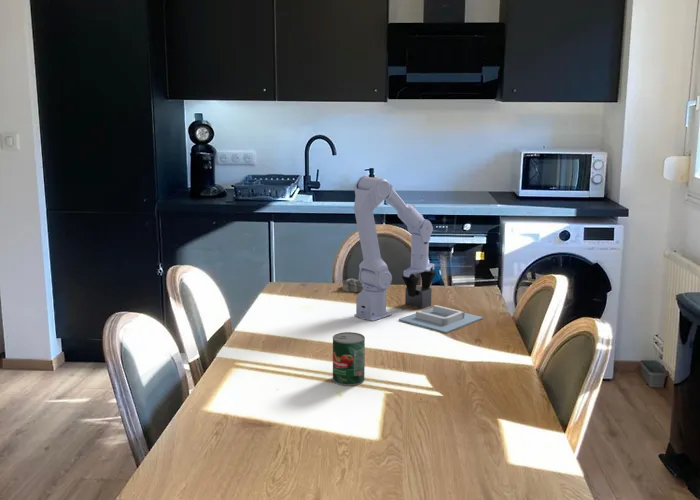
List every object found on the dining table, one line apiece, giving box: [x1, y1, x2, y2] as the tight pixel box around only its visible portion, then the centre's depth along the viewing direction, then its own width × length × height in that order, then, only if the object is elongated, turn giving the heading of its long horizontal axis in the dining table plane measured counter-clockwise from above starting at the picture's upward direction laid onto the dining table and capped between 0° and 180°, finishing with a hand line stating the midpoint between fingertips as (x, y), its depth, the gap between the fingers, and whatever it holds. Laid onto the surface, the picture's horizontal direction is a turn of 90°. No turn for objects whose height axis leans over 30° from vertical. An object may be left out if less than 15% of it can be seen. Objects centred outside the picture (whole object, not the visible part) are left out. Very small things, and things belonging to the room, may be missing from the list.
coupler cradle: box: [398, 304, 484, 334], centre depth 226 cm, size 20×18×2 cm
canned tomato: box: [332, 331, 366, 387], centre depth 177 cm, size 8×8×11 cm
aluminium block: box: [404, 284, 432, 310], centre depth 241 cm, size 5×7×6 cm
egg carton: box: [342, 277, 364, 293], centre depth 261 cm, size 11×8×4 cm
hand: (418, 293), depth 241 cm, fingers open, 7 cm apart
